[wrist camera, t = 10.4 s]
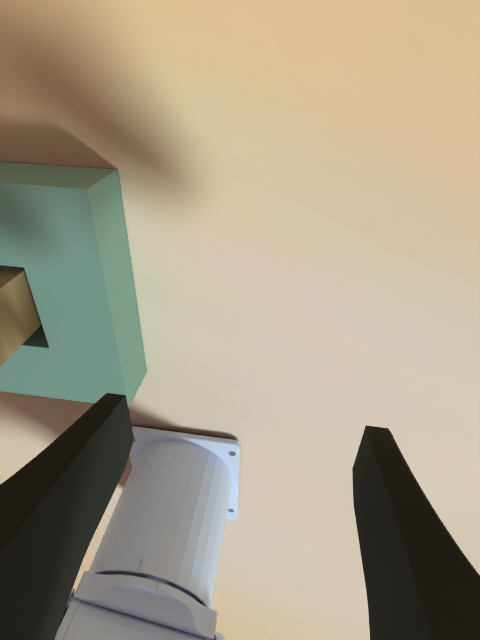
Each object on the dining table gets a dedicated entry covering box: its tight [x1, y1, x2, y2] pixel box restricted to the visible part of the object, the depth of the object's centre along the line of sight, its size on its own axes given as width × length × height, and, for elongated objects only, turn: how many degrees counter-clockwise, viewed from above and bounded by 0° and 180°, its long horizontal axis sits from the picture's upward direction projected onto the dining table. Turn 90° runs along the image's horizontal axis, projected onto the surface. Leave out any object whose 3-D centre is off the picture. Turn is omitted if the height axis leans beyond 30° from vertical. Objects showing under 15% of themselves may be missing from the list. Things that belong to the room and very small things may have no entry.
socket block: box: [0, 162, 147, 408], centre depth 20 cm, size 12×12×3 cm
